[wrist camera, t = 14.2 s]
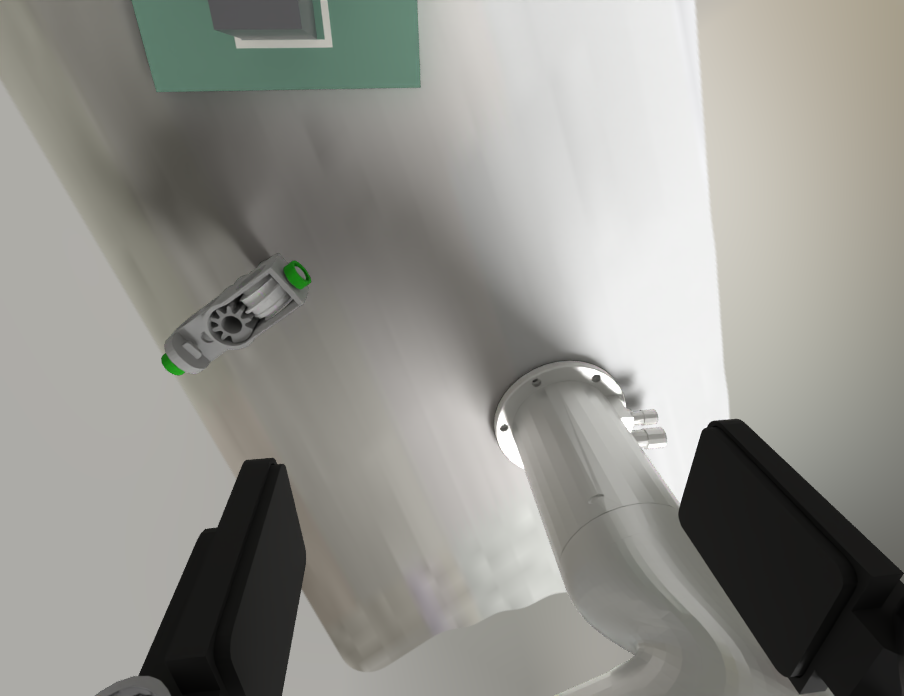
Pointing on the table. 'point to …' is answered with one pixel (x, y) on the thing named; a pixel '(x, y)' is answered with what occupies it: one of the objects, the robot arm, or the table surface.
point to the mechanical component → (237, 315)
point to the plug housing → (264, 19)
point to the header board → (282, 49)
